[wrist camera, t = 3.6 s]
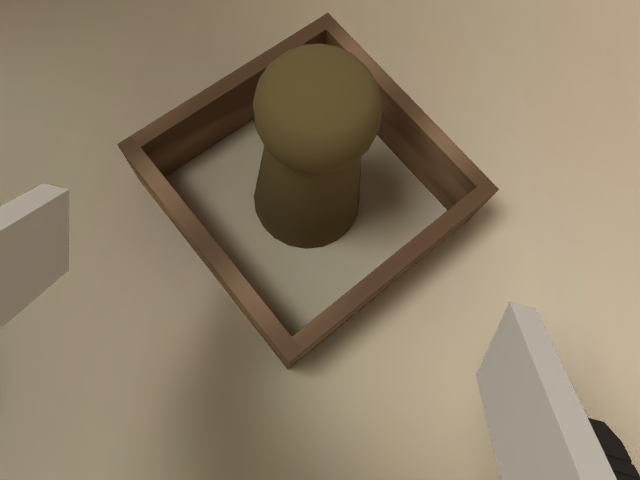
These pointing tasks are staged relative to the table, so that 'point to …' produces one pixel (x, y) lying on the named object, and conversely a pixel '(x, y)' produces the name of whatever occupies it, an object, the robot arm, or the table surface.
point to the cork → (313, 142)
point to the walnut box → (237, 109)
